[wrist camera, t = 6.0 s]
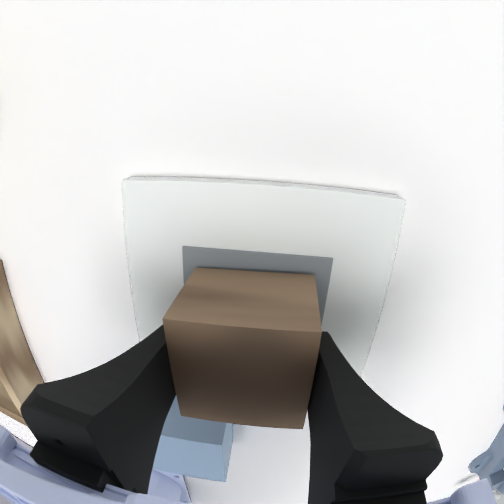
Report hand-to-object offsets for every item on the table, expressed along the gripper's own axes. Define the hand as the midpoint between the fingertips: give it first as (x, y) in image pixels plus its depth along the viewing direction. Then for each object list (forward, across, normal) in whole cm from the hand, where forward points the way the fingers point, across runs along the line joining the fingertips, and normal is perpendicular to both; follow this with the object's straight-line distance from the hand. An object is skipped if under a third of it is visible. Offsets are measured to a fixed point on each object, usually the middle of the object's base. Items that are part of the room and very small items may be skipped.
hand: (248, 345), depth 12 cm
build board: (+3, 0, 0) cm, 3 cm away
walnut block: (+2, 0, 0) cm, 2 cm away
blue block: (+3, +4, +10) cm, 11 cm away
